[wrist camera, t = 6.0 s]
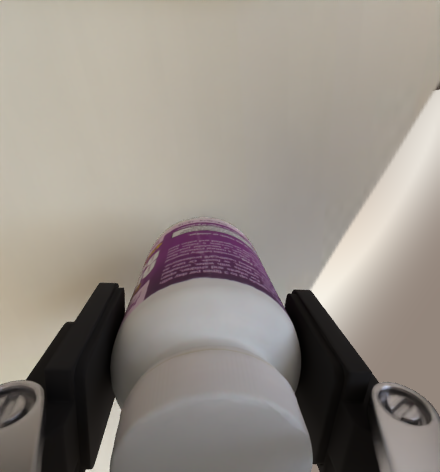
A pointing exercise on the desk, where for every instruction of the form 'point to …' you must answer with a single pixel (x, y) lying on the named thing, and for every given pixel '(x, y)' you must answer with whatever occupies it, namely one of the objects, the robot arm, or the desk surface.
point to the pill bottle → (207, 361)
